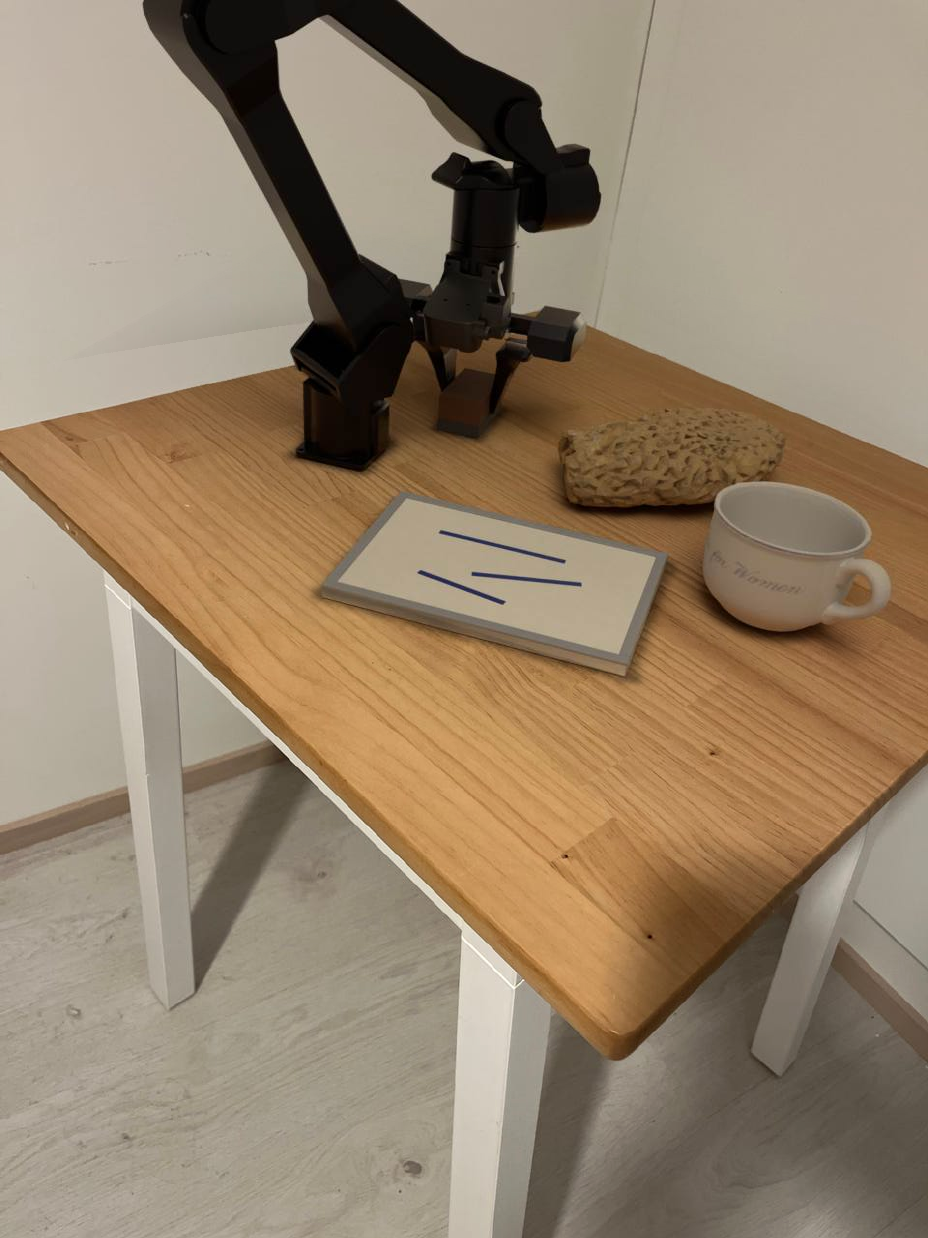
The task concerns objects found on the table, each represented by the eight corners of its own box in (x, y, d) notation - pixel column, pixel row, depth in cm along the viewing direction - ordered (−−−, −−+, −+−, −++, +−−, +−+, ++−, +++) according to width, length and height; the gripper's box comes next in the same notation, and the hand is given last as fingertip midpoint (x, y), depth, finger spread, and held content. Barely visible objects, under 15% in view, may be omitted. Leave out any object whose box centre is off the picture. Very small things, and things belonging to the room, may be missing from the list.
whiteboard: (321, 597, 76) (321, 583, 75) (400, 502, 88) (401, 490, 87) (625, 677, 71) (628, 663, 70) (666, 565, 82) (669, 552, 82)
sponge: (573, 540, 87) (820, 504, 86) (563, 447, 84) (820, 409, 83) (557, 489, 99) (774, 457, 98) (547, 406, 95) (771, 372, 95)
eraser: (437, 429, 99) (439, 394, 97) (461, 401, 104) (464, 367, 102) (478, 438, 98) (481, 403, 96) (501, 409, 103) (504, 375, 101)
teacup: (665, 579, 81) (685, 485, 76) (781, 556, 85) (807, 466, 80) (777, 692, 71) (809, 591, 66) (904, 660, 75) (942, 563, 70)
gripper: (344, 244, 87) (343, 420, 96) (565, 284, 83) (543, 465, 92) (396, 212, 96) (390, 376, 105) (598, 246, 92) (574, 415, 101)
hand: (470, 407), depth 100 cm, fingers open, 4 cm apart
